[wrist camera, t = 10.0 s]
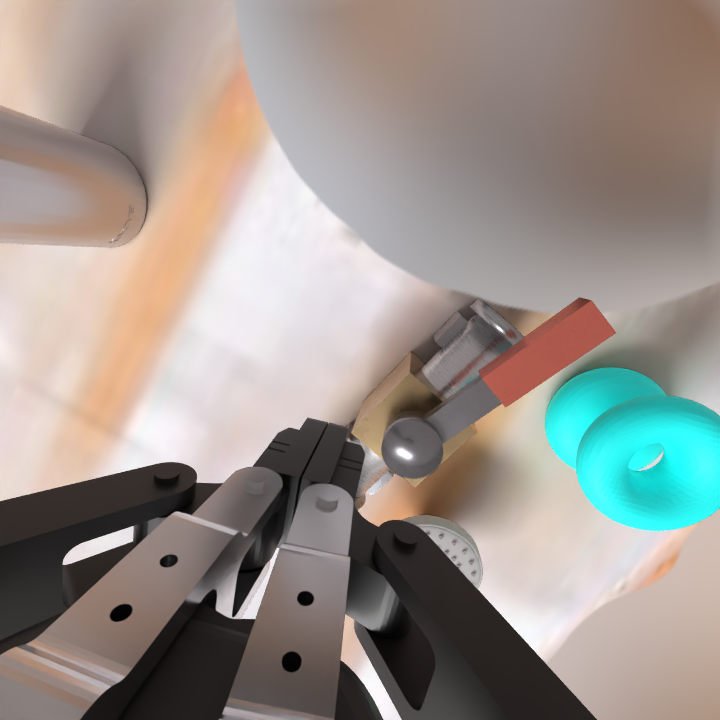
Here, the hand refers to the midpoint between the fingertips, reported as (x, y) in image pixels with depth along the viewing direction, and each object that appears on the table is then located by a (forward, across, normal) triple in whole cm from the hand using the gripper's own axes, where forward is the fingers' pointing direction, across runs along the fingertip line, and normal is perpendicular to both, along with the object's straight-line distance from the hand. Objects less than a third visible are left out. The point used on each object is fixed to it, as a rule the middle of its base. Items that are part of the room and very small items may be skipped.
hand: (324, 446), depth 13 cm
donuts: (+23, -21, +4) cm, 32 cm away
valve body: (+23, -5, +6) cm, 25 cm away
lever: (+15, -9, +1) cm, 18 cm away
